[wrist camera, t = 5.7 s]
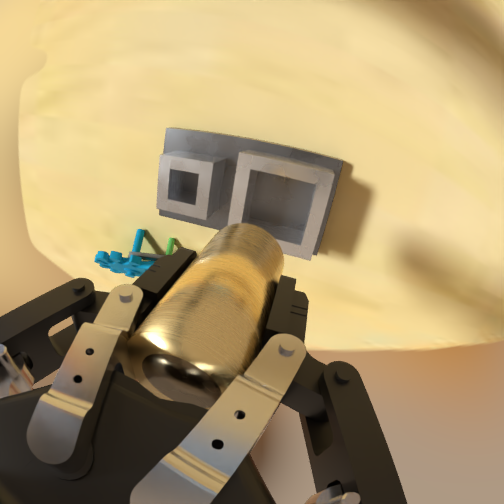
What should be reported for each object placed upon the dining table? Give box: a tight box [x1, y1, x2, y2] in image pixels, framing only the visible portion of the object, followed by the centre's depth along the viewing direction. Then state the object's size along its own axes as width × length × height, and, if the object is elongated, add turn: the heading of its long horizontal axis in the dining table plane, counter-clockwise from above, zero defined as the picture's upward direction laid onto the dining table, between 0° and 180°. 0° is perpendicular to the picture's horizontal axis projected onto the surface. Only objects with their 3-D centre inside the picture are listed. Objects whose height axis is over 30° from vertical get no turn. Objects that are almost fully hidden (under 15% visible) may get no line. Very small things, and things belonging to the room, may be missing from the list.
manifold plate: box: [157, 128, 343, 261], centre depth 26 cm, size 10×18×5 cm, turn 80°
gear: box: [94, 229, 175, 278], centre depth 32 cm, size 11×6×10 cm
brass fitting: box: [127, 223, 284, 410], centre depth 11 cm, size 4×4×8 cm
